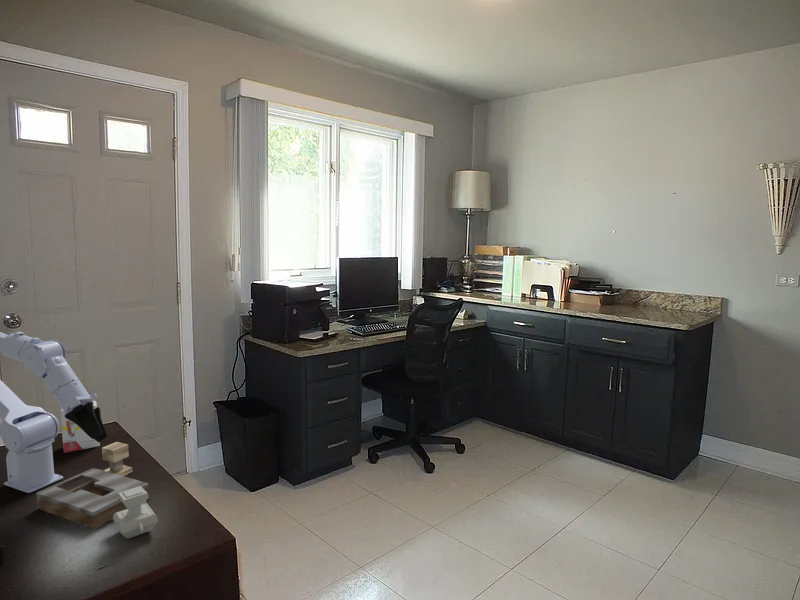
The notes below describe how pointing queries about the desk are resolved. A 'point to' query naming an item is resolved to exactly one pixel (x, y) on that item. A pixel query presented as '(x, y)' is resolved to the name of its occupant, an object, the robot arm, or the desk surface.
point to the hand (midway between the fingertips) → (100, 438)
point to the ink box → (75, 435)
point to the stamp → (134, 513)
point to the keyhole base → (80, 515)
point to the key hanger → (116, 458)
